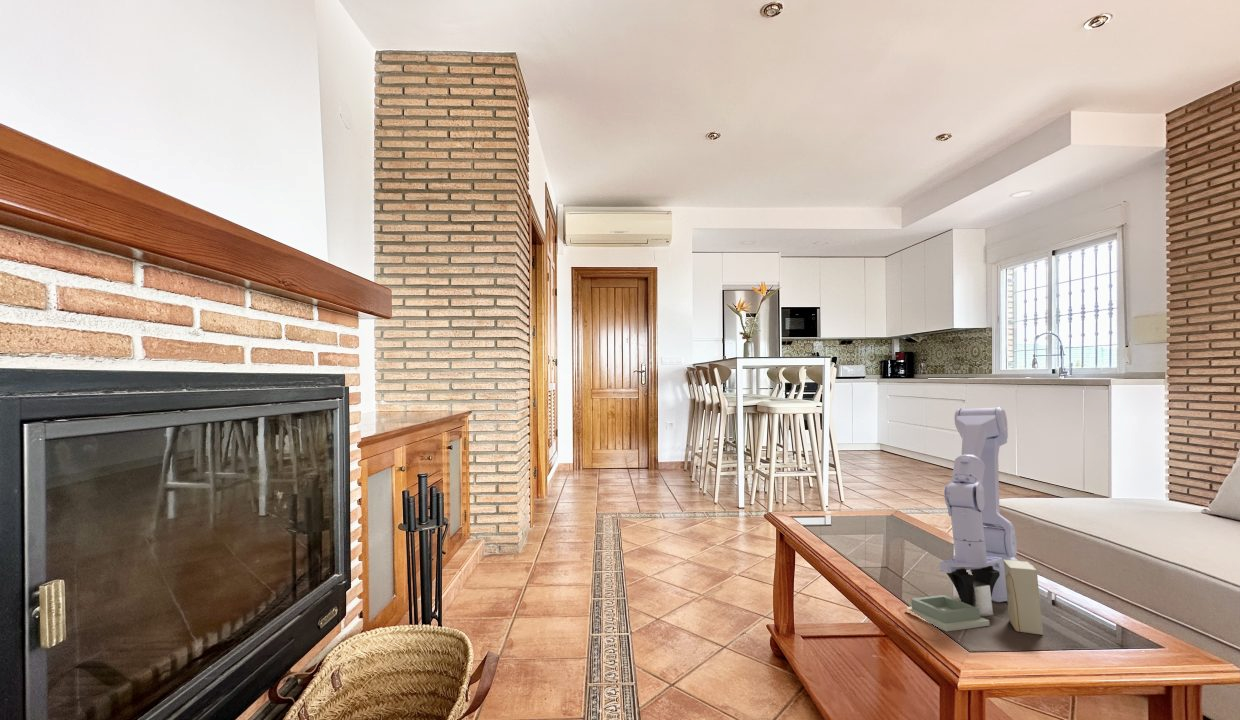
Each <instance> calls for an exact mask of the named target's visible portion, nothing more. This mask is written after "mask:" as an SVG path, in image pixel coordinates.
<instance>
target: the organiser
mask: <svg viewBox="0 0 1240 720" xmlns="http://www.w3.org/2000/svg"><path fill="white" fill-rule="evenodd" d="M910 602H911V606H906V607H907V609H909V610H910V611H912V612H914V613H915V614H917V615H918V616H920V617H921V618H923V619H925V620H926V621H928V622H930V623H931V624H933V625H934V626H933V625H932V626H933V627H935V626H936V628H937V627H938V629H940V630H942V631H945V632H953V631H960V630H968V629H975V628H976V629H977V628H984V627H989V626H990V625H991V624H990V620H989V619H987V618H984V617H983V616H981V617H980V610H979V608H976V607H974V606H971V605H969V604H966V603H964V602H961V601H960V600H958V599H956V598H954V597H950V596H948V595H946V594H940V595H932V596H923V597H913V598H911V599H910ZM931 624H930V625H931Z"/></svg>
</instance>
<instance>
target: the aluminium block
mask: <svg viewBox="0 0 1240 720" xmlns="http://www.w3.org/2000/svg"><path fill="white" fill-rule="evenodd" d="M992 602H993V601H992V600H991V592H990V585H988V584H985V583H982V582H979V581H975V580H974V584H973V606H974V607H976V608H979V610H980V617H989V616H994V611H993V604H992Z"/></svg>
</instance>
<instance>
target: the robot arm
mask: <svg viewBox="0 0 1240 720" xmlns="http://www.w3.org/2000/svg"><path fill="white" fill-rule="evenodd" d="M954 424H955V428H956V430H957V431H958V434H959V436H960V438H961V440H962V441H961V442H962V443H961V455H959V456H957V457H956V458H955V459H954V462H953V469H952V474H951V479H950V482H949V484H948V483H946V485H945V486H944V489H943V490H944V491H943V492H944V493H943V495H944V496H943V497H944V502H945V505H946V508H947V514H948V516H949V517H950V518H951V519H950V520H951V529H952V531H951V532H952V540H953V549H954V555H952V558H949V559H946V560H941V561H939V569H940V570H939V571H941V572H944V573H945V574H946V575H947V576H948V577H949V579H950V580H951V582H952V584H953V585H954V587H955V589H956V592H957V595H958V598H959V601H961V602H964V603H966V604H969V605H971V606H973V584H974V580H975V581H979V582H982V583H985V584H988V585H990V592H991V601H992V602H996V603H1004V602H1007V590H1006V580H1005V570H1004V561H1003V560H1014V561H1019V560H1018V559H1017V558H1016V556H1017V553H1018V541H1017V536H1016V527H1015V525H1013V523H1012V522H1011V521H1010V520H1009V519H1007V518H1005V517H1004V516H1003V515H1002V514H1000V513H1001V512H1000V483H999V482H1000V480H999V479H1000V478H999V476H1000V475H999V474H1000V473H999V454H1000V453H999V452H1000V447H1001V446H1003V445H1005V444H1007V443H1008V439H1009V433H1008V429H1009V428H1008V419H1007V414H1006V411H1005V410H1004V409H1003V408H1002V407H1001V406H998V407H997V406H996V407H983V408H982V407H980V408H977V407H976V408H959V407H958V408H957V409H956V411H955V412H954ZM968 571H970V573H971V574H970V573H969V572H968Z"/></svg>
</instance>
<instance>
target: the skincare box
mask: <svg viewBox="0 0 1240 720" xmlns="http://www.w3.org/2000/svg"><path fill="white" fill-rule="evenodd" d="M1003 561H1004V570H1005V580H1006V590H1007V601H1006V602H1007V611H1008V612H1007V613H1008V620H1009V622H1010V624H1011V626H1012V627H1013V629H1014V631H1016V632H1021V633H1026V634H1031V635H1032V634H1034V635H1040V636H1041V635H1044V631H1043V628H1044V627H1043V621H1042V619H1043V618H1042V612H1041V611H1042V610H1041V600H1040V588H1039V581H1038V580H1039V579H1038V570H1037V568H1035V567H1034V565H1032V564H1031V563H1030V562H1029V561H1022V560H1018V561H1014V560H1003Z"/></svg>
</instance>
